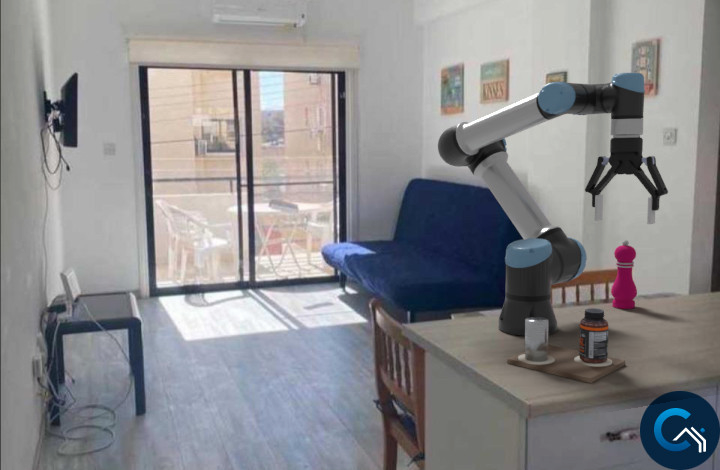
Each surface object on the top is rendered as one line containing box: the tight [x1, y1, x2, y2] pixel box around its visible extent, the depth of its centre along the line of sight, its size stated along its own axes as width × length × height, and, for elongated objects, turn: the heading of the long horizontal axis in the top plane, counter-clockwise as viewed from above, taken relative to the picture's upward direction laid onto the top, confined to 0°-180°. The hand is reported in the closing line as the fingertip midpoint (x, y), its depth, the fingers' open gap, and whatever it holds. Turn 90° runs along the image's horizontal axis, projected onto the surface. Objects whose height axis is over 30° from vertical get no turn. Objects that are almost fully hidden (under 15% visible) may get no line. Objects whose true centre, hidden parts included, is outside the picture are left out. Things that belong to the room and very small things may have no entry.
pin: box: [524, 317, 549, 362], centre depth 156 cm, size 5×5×9 cm
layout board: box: [506, 343, 626, 384], centre depth 156 cm, size 20×16×1 cm
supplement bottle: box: [578, 307, 609, 363], centre depth 154 cm, size 6×6×11 cm
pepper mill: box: [610, 239, 638, 310], centre depth 207 cm, size 7×7×20 cm
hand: (624, 222), depth 176 cm, fingers open, 13 cm apart
